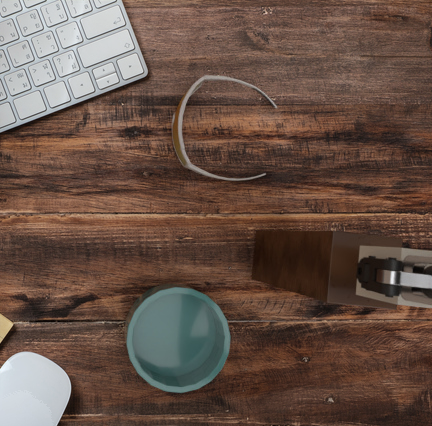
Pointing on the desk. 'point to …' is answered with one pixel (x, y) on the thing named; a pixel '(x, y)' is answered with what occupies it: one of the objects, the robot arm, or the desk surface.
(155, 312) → the bowl
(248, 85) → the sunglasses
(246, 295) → the desk surface
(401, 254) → the block
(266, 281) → the block
